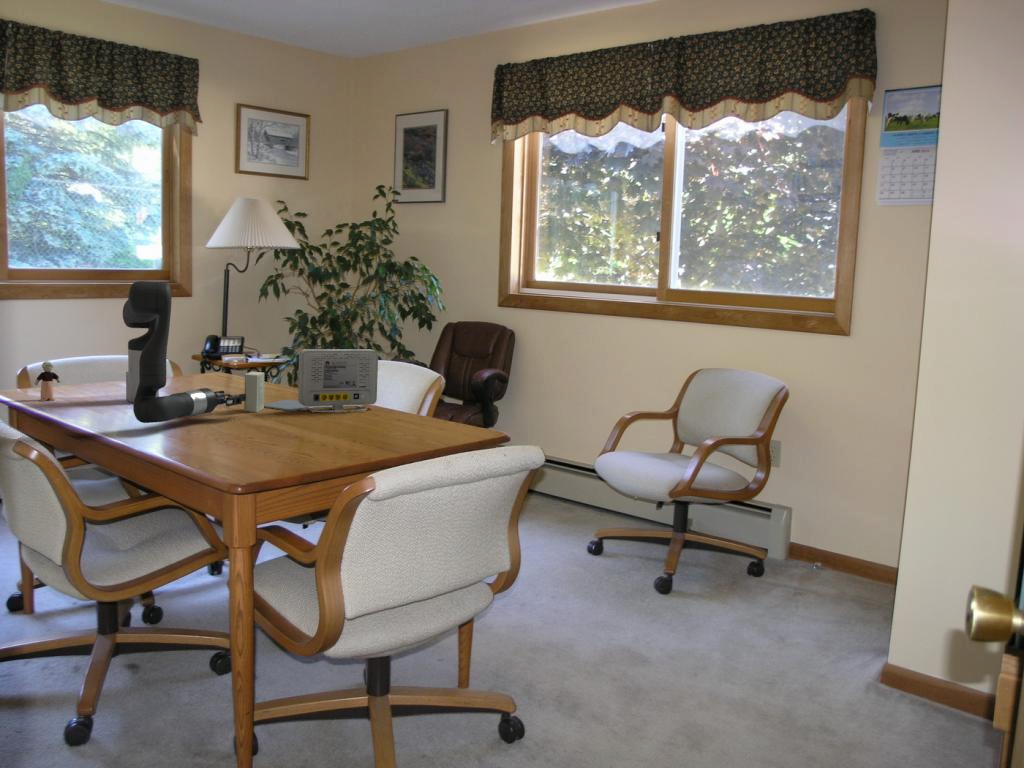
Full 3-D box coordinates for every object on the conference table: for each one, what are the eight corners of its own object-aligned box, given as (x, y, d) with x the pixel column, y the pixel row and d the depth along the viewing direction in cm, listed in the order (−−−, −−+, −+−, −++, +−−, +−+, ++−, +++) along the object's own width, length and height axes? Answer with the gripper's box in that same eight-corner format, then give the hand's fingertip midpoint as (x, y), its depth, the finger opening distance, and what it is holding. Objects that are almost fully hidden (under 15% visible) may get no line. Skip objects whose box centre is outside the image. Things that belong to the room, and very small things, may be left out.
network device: (370, 406, 302) (372, 348, 299) (379, 410, 294) (380, 351, 291) (296, 408, 290) (297, 348, 287) (302, 413, 282) (303, 351, 279)
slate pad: (259, 406, 290) (259, 404, 290) (286, 401, 303) (286, 399, 302) (293, 411, 284) (293, 409, 284) (319, 405, 297) (319, 404, 297)
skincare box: (251, 408, 286) (251, 371, 285) (264, 409, 286) (265, 372, 284) (243, 411, 280) (243, 373, 279) (257, 412, 280) (257, 374, 278)
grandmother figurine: (40, 402, 278) (39, 362, 276) (33, 400, 280) (32, 361, 278) (63, 399, 284) (62, 360, 283) (56, 398, 286) (55, 359, 284)
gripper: (215, 392, 256) (252, 386, 270) (177, 387, 261) (216, 381, 276) (215, 417, 257) (252, 410, 272) (177, 411, 262) (216, 404, 277)
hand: (234, 395), depth 274 cm, fingers open, 8 cm apart
